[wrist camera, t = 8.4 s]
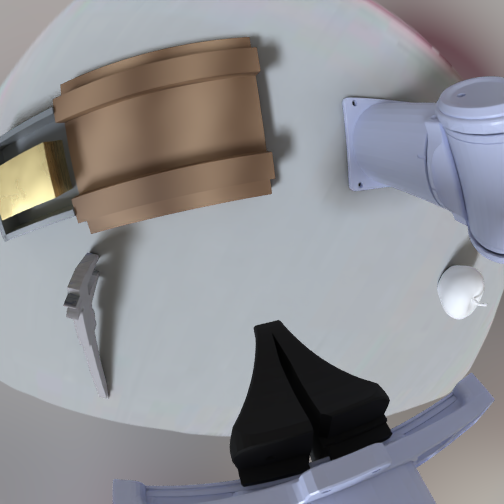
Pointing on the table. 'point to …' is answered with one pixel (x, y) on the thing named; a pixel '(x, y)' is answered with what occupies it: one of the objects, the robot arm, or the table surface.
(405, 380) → the table surface
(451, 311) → the plain white apple
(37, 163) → the block
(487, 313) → the table surface
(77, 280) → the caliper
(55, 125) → the tray
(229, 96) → the slot board
